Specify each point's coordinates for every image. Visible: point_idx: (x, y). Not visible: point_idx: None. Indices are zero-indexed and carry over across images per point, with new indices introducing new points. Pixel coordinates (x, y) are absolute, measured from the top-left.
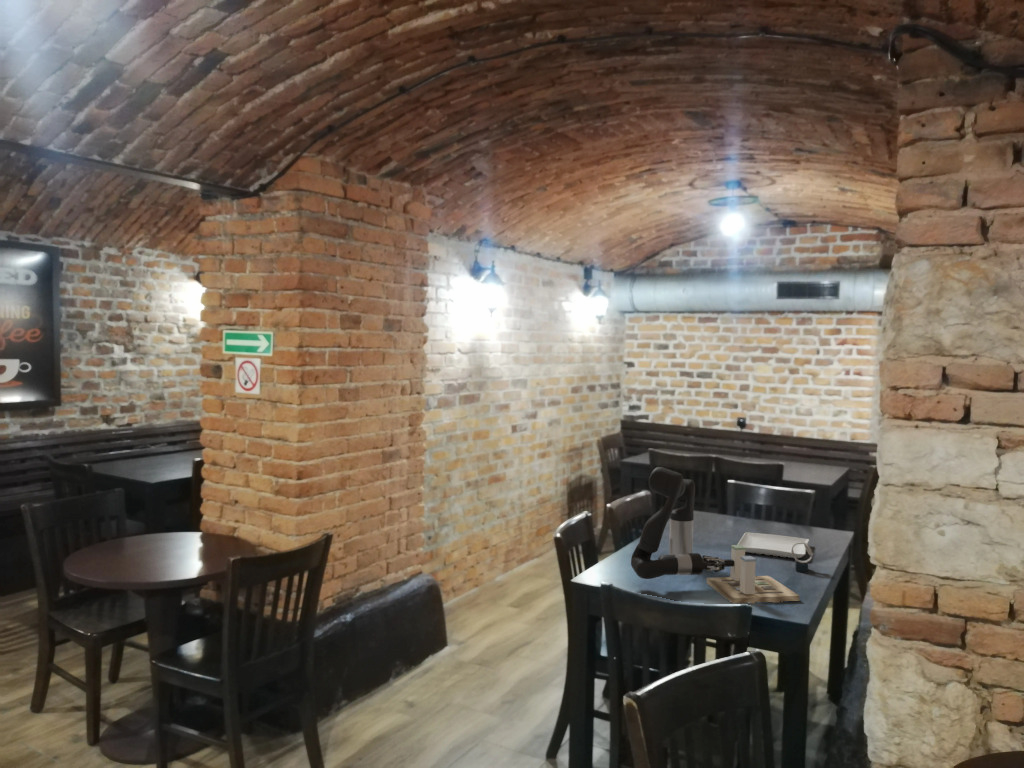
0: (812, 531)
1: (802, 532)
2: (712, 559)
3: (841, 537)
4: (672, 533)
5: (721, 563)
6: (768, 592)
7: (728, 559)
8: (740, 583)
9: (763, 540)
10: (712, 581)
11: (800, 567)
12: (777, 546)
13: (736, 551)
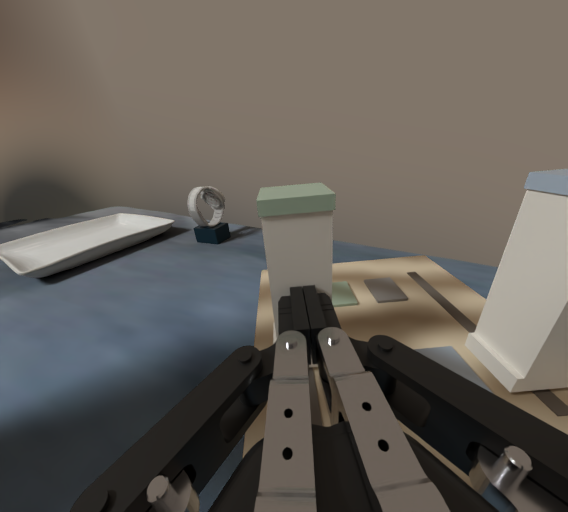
0: (83, 216)
1: (75, 220)
2: (367, 443)
3: (127, 208)
4: None
5: (451, 373)
6: (439, 298)
7: (293, 299)
8: (539, 361)
9: (45, 244)
10: None
11: (221, 233)
12: (90, 239)
13: (332, 218)
